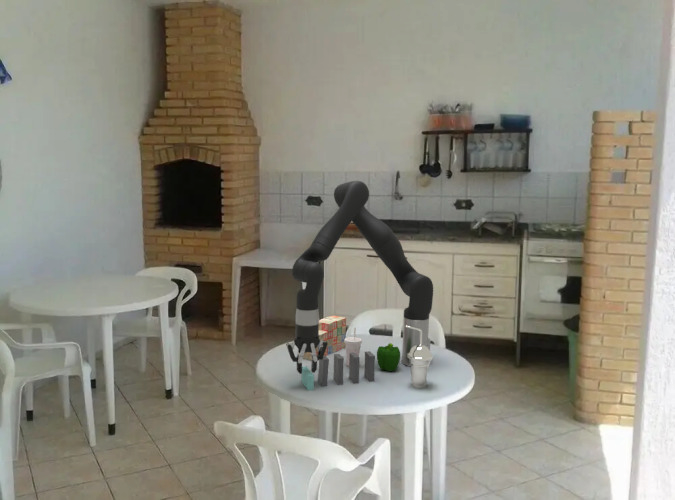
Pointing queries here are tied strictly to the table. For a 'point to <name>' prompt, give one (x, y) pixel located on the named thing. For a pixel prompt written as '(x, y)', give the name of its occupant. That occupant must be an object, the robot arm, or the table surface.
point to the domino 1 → (307, 378)
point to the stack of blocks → (330, 335)
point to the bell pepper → (388, 357)
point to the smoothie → (352, 345)
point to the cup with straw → (419, 362)
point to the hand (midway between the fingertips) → (306, 372)
